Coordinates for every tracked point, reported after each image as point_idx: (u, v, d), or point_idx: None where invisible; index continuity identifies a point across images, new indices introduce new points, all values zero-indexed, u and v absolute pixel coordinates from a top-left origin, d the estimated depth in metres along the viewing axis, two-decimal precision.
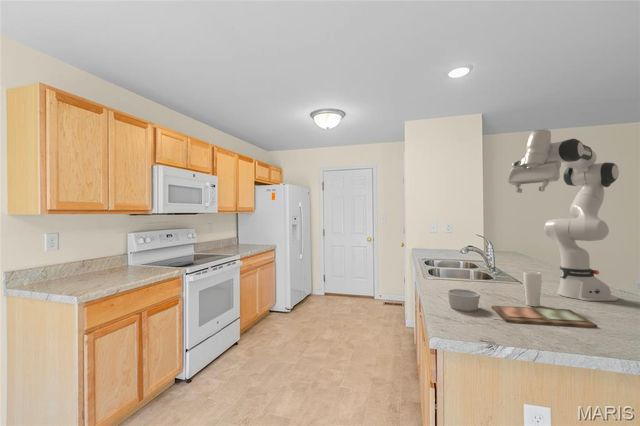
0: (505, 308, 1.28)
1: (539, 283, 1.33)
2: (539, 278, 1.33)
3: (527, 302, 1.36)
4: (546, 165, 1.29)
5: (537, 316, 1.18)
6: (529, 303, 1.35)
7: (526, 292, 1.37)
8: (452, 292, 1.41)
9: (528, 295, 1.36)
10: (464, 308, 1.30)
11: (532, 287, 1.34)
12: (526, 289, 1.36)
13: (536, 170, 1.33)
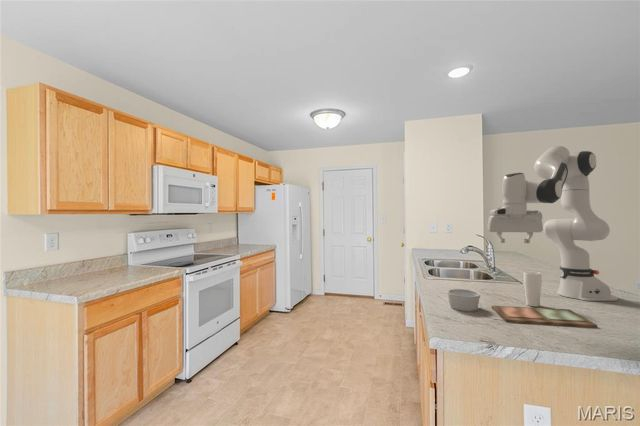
0: (505, 308, 1.28)
1: (539, 283, 1.33)
2: (539, 278, 1.33)
3: (527, 302, 1.36)
4: (531, 217, 1.24)
5: (537, 316, 1.18)
6: (529, 303, 1.35)
7: (526, 292, 1.37)
8: (452, 292, 1.41)
9: (528, 295, 1.36)
10: (464, 308, 1.30)
11: (532, 287, 1.34)
12: (526, 289, 1.36)
13: (521, 221, 1.26)
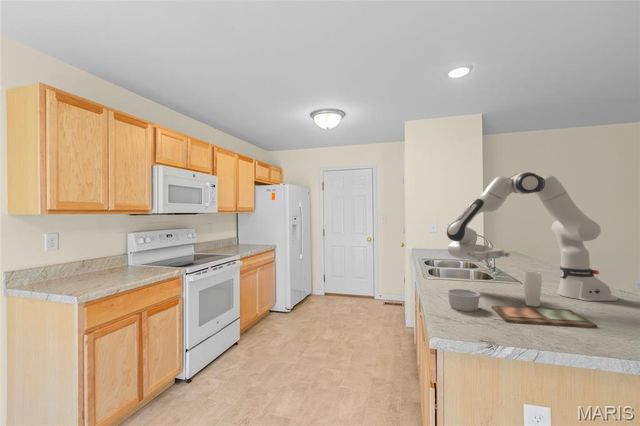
0: (505, 308, 1.28)
1: (539, 283, 1.33)
2: (539, 278, 1.33)
3: (527, 302, 1.36)
4: None
5: (537, 316, 1.18)
6: (529, 303, 1.35)
7: (526, 292, 1.37)
8: (452, 292, 1.41)
9: (528, 295, 1.36)
10: (464, 308, 1.30)
11: (532, 287, 1.34)
12: (526, 289, 1.36)
13: None
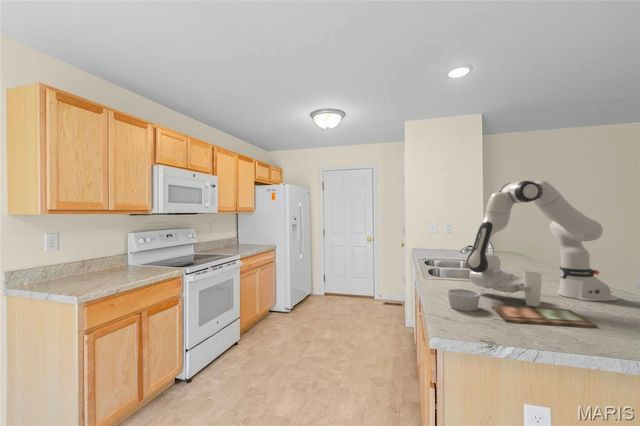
0: (505, 308, 1.28)
1: (539, 283, 1.33)
2: (539, 278, 1.33)
3: (527, 302, 1.36)
4: None
5: (537, 316, 1.18)
6: (529, 303, 1.35)
7: (526, 292, 1.37)
8: (452, 292, 1.41)
9: (528, 295, 1.36)
10: (464, 308, 1.30)
11: (532, 287, 1.34)
12: None
13: None
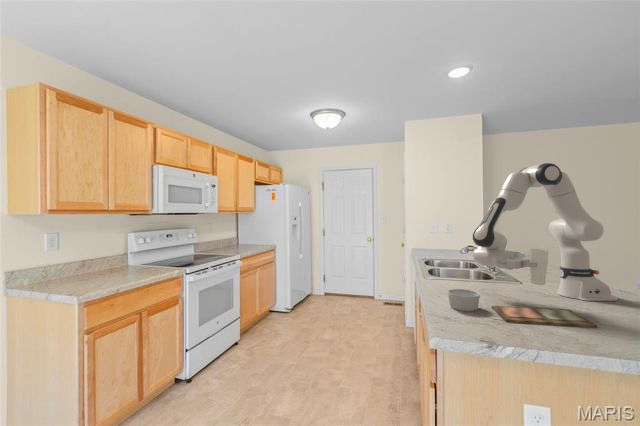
0: (505, 308, 1.28)
1: (545, 260, 1.29)
2: (546, 255, 1.29)
3: (532, 280, 1.32)
4: None
5: (537, 316, 1.18)
6: (534, 281, 1.31)
7: (531, 270, 1.32)
8: (452, 292, 1.41)
9: (533, 273, 1.31)
10: (464, 308, 1.30)
11: (538, 264, 1.29)
12: (531, 267, 1.32)
13: None
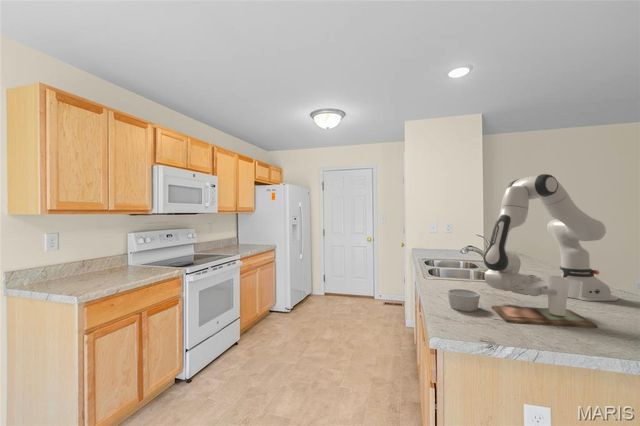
0: (505, 308, 1.28)
1: (566, 289, 1.17)
2: (566, 284, 1.17)
3: (550, 310, 1.20)
4: None
5: (537, 316, 1.18)
6: (553, 311, 1.19)
7: (550, 299, 1.20)
8: (452, 292, 1.41)
9: (552, 302, 1.19)
10: (464, 308, 1.30)
11: (557, 293, 1.18)
12: (550, 295, 1.20)
13: None
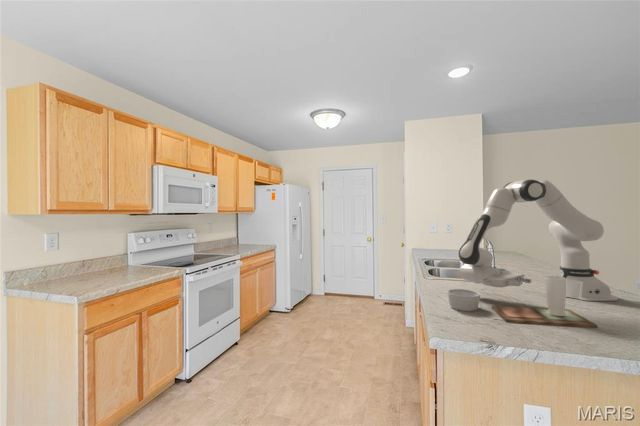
0: (505, 308, 1.28)
1: (563, 289, 1.17)
2: (563, 283, 1.17)
3: (550, 311, 1.20)
4: None
5: (537, 316, 1.18)
6: (552, 312, 1.19)
7: (548, 300, 1.20)
8: (452, 292, 1.41)
9: (551, 303, 1.19)
10: (464, 308, 1.30)
11: (555, 293, 1.18)
12: (548, 296, 1.20)
13: None
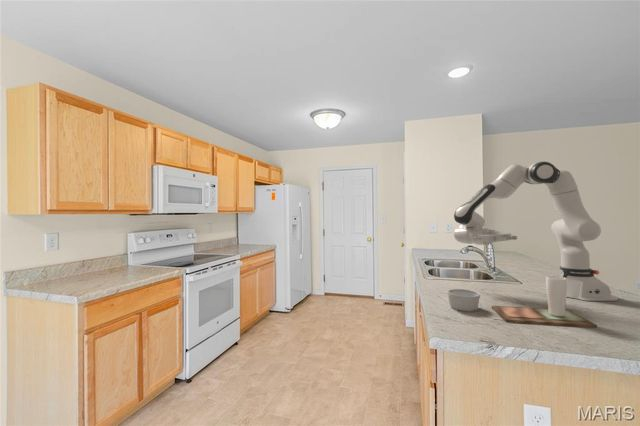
0: (505, 308, 1.28)
1: (565, 290, 1.17)
2: (565, 284, 1.17)
3: (550, 311, 1.20)
4: None
5: (537, 316, 1.18)
6: (552, 312, 1.19)
7: (549, 300, 1.20)
8: (452, 292, 1.41)
9: (551, 303, 1.19)
10: (464, 308, 1.30)
11: (556, 294, 1.17)
12: (549, 296, 1.20)
13: None
